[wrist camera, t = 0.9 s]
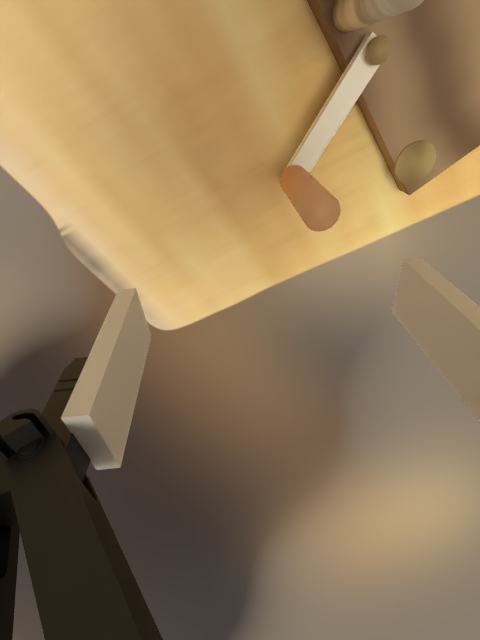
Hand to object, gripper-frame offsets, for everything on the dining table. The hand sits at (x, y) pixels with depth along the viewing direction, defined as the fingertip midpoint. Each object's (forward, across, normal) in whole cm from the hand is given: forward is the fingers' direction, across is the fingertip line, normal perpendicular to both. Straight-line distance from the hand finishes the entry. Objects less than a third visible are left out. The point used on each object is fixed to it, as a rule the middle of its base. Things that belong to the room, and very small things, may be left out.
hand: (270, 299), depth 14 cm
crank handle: (+18, +7, +5) cm, 20 cm away
